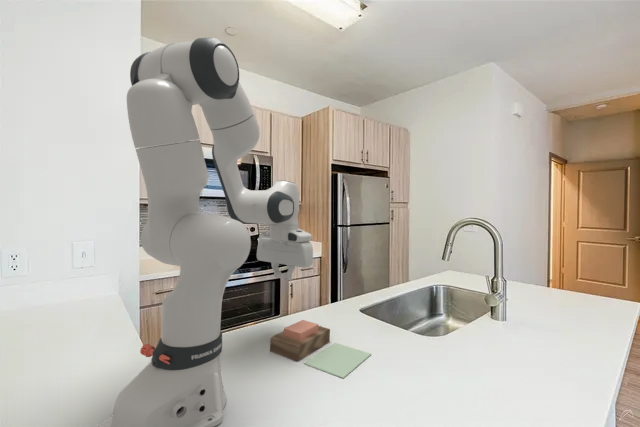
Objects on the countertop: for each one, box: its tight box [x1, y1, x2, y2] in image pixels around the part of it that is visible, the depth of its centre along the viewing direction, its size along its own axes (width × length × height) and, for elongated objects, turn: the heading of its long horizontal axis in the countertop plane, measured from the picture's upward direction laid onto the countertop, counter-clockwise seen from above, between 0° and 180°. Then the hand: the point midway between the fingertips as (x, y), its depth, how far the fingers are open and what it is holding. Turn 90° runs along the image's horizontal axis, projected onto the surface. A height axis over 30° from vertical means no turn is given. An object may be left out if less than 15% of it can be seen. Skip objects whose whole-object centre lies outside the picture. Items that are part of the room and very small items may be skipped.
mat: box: [303, 342, 372, 380], centre depth 86 cm, size 16×12×1 cm
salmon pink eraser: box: [283, 319, 320, 340], centre depth 93 cm, size 9×6×2 cm, turn 146°
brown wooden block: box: [269, 325, 331, 363], centre depth 93 cm, size 16×10×4 cm, turn 146°
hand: (282, 278), depth 97 cm, fingers open, 3 cm apart
